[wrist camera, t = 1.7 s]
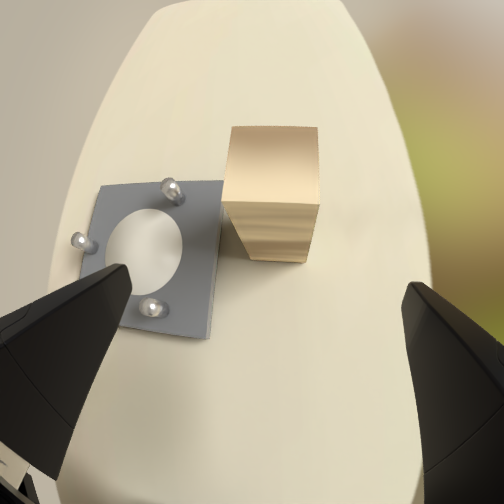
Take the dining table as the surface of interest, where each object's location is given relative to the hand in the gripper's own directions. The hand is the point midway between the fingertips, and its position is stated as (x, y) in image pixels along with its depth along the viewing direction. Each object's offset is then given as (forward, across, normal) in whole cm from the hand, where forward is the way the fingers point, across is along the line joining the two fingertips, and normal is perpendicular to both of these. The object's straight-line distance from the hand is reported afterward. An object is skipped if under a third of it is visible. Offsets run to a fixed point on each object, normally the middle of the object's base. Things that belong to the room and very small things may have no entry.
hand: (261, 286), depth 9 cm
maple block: (+13, 0, +5) cm, 13 cm away
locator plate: (+11, +11, +6) cm, 17 cm away
